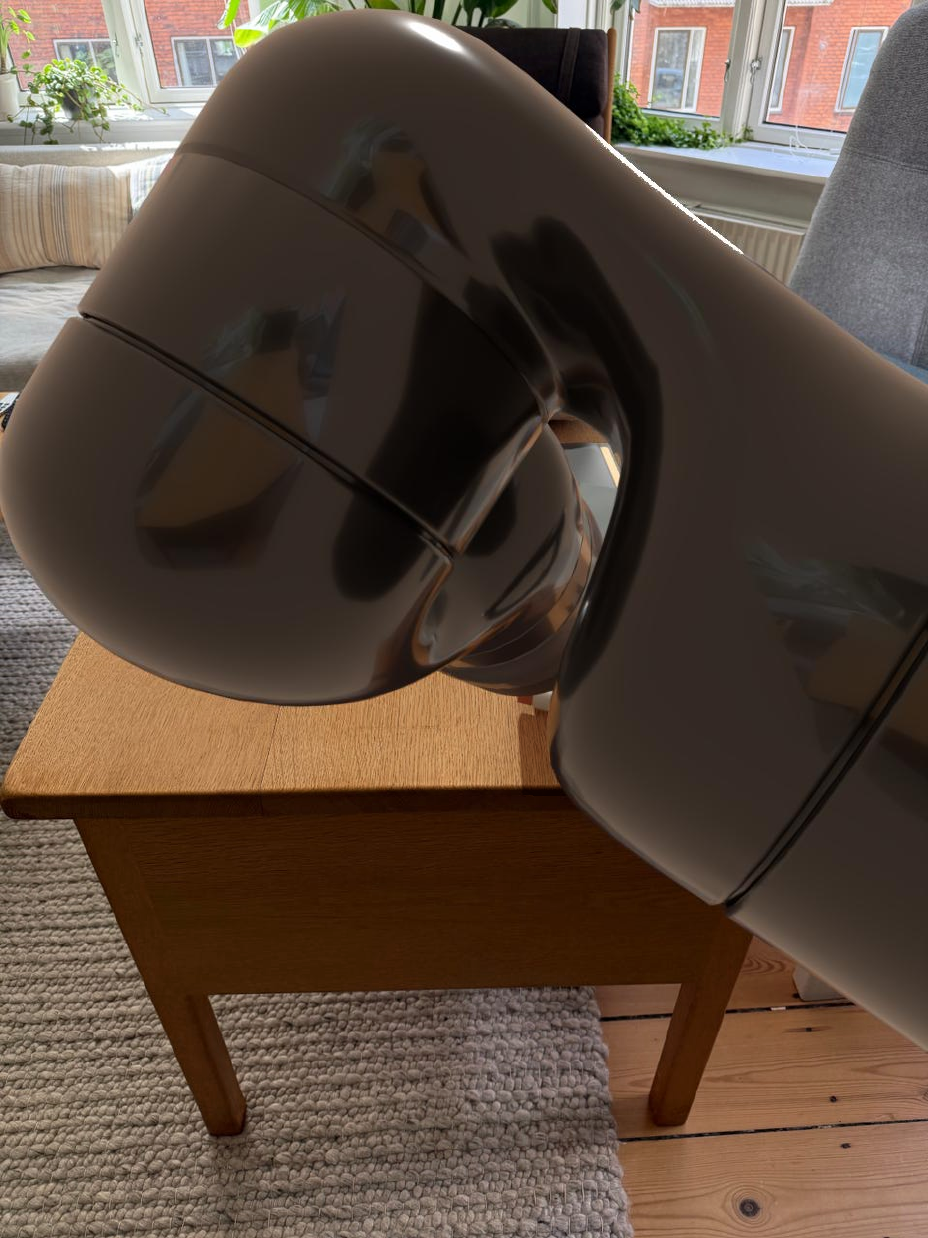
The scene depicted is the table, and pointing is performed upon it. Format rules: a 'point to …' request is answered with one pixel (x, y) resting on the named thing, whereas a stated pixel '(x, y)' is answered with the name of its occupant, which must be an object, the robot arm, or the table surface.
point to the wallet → (593, 463)
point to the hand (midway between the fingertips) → (558, 643)
